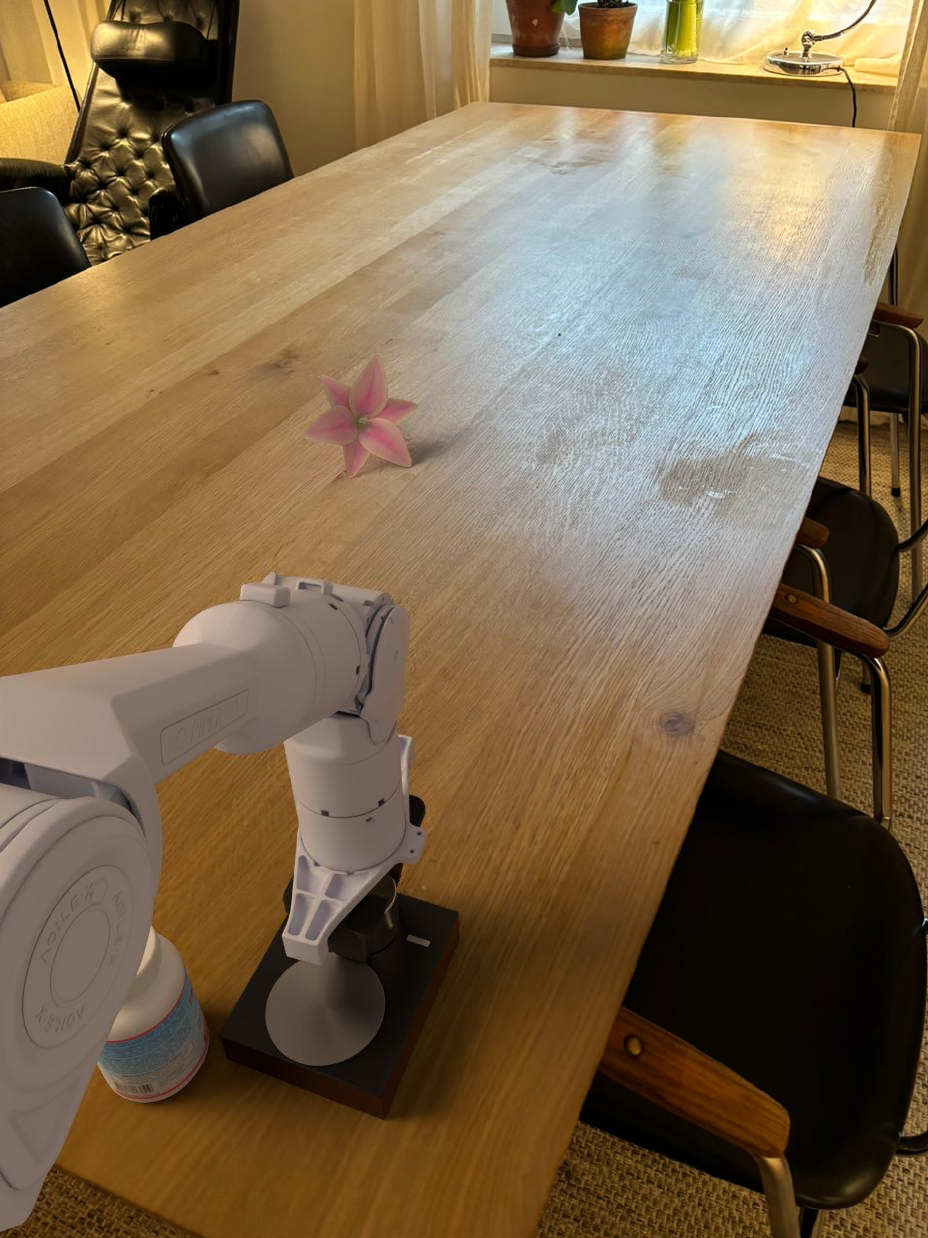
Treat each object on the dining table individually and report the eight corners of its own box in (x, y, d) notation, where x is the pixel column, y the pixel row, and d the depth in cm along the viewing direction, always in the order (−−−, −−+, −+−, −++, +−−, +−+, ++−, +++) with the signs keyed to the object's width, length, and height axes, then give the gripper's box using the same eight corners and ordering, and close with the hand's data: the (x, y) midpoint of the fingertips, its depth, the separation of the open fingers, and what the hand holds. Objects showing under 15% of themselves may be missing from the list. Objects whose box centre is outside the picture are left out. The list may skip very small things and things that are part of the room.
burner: (354, 1085, 53) (354, 1083, 53) (243, 1043, 55) (243, 1041, 55) (403, 975, 58) (403, 973, 58) (300, 940, 60) (299, 938, 60)
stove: (384, 1121, 55) (380, 1096, 53) (226, 1060, 58) (217, 1033, 55) (467, 921, 64) (466, 893, 62) (328, 876, 67) (323, 848, 65)
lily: (290, 481, 106) (303, 430, 98) (307, 393, 111) (321, 338, 103) (399, 507, 109) (420, 459, 100) (411, 420, 114) (432, 368, 105)
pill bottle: (232, 1036, 59) (196, 932, 51) (156, 1127, 55) (106, 1028, 47) (158, 986, 61) (114, 879, 54) (81, 1069, 57) (22, 967, 50)
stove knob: (385, 962, 59) (381, 926, 56) (323, 944, 60) (317, 908, 57) (408, 905, 62) (405, 869, 59) (349, 889, 63) (343, 853, 60)
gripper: (368, 911, 45) (386, 1051, 54) (460, 694, 56) (463, 842, 65) (229, 874, 47) (269, 1016, 56) (344, 670, 57) (362, 817, 66)
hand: (366, 921), depth 60 cm, fingers closed on stove knob, 4 cm apart
